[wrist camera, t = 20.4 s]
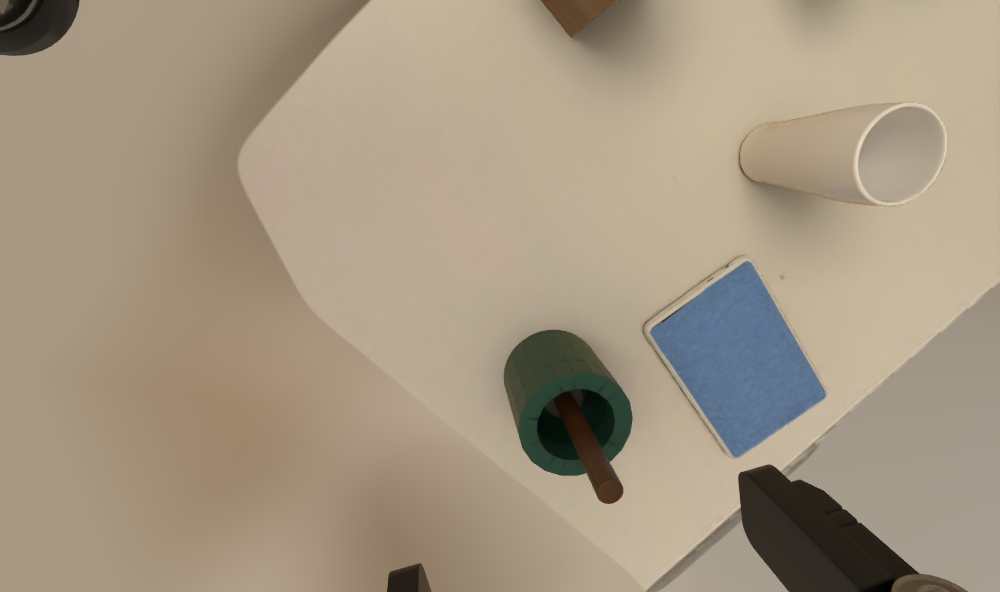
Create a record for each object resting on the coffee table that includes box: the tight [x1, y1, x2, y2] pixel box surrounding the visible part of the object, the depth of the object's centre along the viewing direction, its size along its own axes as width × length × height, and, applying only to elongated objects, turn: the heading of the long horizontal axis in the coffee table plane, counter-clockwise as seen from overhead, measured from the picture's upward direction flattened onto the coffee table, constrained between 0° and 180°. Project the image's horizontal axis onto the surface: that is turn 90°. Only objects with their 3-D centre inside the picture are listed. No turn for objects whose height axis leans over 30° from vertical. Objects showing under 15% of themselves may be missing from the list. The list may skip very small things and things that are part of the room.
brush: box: [545, 389, 623, 504], centre depth 43 cm, size 4×4×18 cm
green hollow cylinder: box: [504, 330, 633, 476], centre depth 47 cm, size 9×9×10 cm
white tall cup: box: [740, 102, 948, 207], centre depth 41 cm, size 7×7×15 cm
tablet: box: [644, 256, 827, 458], centre depth 53 cm, size 19×13×1 cm, turn 36°
